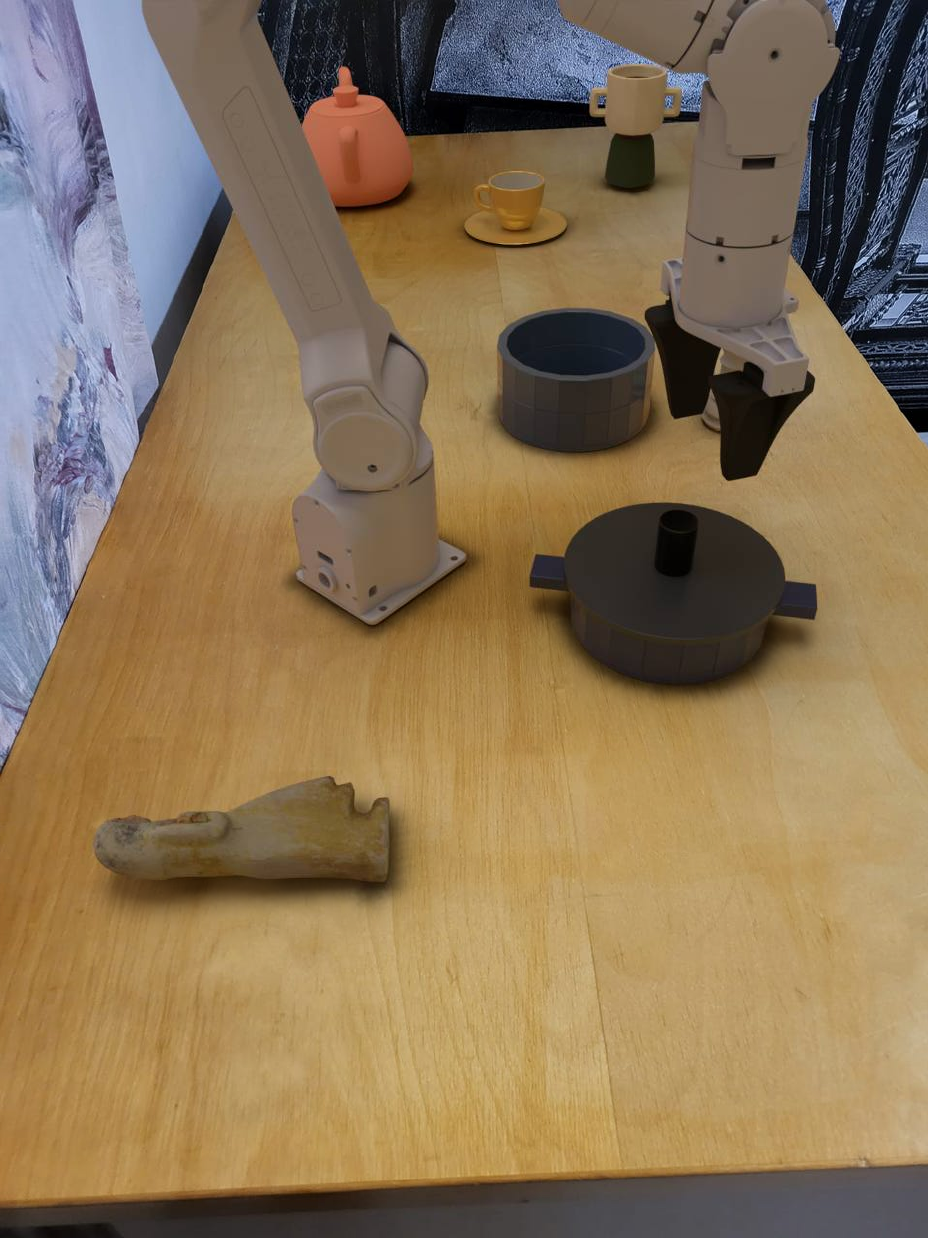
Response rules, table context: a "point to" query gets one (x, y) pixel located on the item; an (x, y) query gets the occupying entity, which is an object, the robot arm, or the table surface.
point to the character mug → (634, 120)
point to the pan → (667, 659)
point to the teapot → (357, 146)
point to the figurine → (257, 838)
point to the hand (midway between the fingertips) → (712, 443)
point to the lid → (674, 573)
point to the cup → (514, 211)
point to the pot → (574, 378)
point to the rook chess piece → (711, 411)
